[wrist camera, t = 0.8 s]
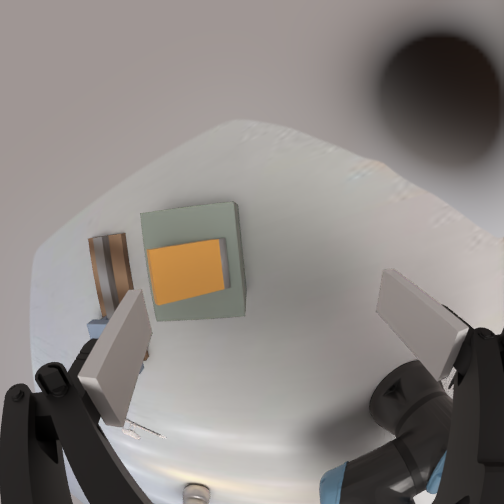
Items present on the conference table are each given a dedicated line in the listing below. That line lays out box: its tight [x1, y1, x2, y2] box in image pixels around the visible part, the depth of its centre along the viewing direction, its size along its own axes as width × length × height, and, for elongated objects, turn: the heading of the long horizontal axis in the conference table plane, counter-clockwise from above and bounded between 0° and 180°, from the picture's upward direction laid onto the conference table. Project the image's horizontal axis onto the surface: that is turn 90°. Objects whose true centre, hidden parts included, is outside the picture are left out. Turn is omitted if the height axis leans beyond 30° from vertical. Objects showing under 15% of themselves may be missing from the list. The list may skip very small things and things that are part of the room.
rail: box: [88, 233, 149, 361], centre depth 37 cm, size 20×6×4 cm, turn 5°
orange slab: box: [146, 238, 231, 305], centre depth 26 cm, size 5×8×1 cm
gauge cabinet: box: [140, 202, 246, 321], centre depth 33 cm, size 12×11×10 cm
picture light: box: [122, 419, 166, 439], centre depth 42 cm, size 14×4×2 cm, turn 66°
